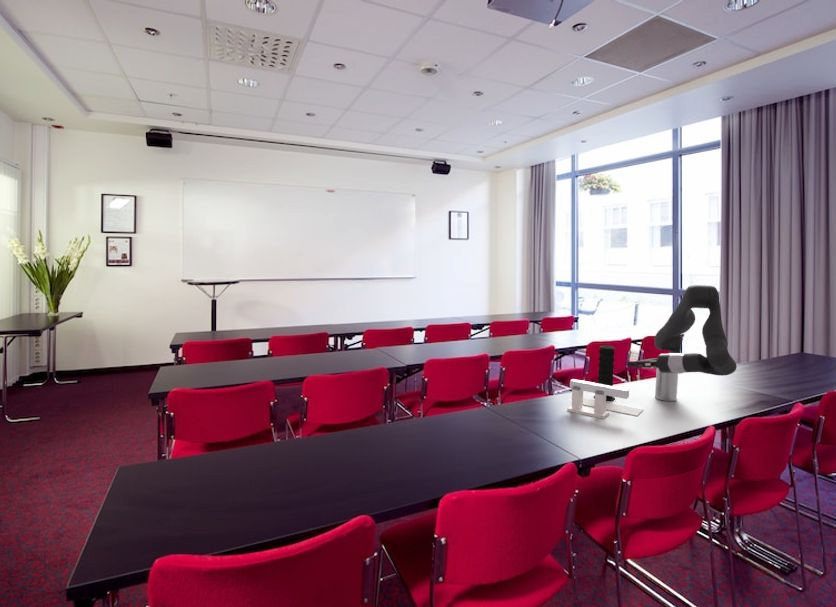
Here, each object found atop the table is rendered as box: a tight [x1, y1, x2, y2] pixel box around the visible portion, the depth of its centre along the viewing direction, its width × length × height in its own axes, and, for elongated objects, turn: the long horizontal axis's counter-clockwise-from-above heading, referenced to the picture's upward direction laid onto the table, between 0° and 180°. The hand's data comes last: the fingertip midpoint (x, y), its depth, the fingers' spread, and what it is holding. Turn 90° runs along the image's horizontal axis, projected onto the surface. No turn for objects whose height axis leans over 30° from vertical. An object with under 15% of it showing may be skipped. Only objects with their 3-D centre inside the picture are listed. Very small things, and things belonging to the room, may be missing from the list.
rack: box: [567, 387, 610, 420], centre depth 200 cm, size 7×16×11 cm, turn 50°
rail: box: [569, 378, 630, 400], centre depth 197 cm, size 24×4×4 cm, turn 51°
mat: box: [583, 397, 644, 417], centre depth 209 cm, size 10×28×1 cm, turn 50°
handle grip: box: [593, 344, 616, 402], centre depth 220 cm, size 10×26×10 cm
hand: (632, 363), depth 188 cm, fingers open, 8 cm apart
